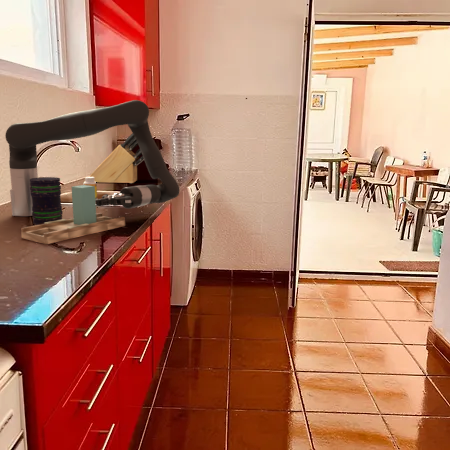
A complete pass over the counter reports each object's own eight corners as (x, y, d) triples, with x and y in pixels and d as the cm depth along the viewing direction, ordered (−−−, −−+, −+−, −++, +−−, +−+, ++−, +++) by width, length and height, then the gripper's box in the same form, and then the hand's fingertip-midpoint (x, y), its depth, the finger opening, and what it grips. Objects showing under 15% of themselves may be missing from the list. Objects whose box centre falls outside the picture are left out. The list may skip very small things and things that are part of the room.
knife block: (149, 183, 262) (148, 128, 255) (87, 183, 262) (84, 127, 255) (153, 181, 273) (151, 127, 266) (93, 180, 273) (90, 127, 266)
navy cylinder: (32, 220, 162) (28, 177, 159) (61, 218, 166) (59, 176, 163) (33, 225, 153) (29, 181, 150) (64, 223, 157) (61, 179, 154)
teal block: (86, 221, 152) (84, 184, 149) (96, 223, 149) (94, 186, 146) (73, 223, 148) (71, 186, 145) (83, 225, 145) (81, 187, 142)
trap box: (100, 221, 161) (100, 212, 161) (125, 225, 155) (124, 216, 154) (21, 238, 137) (20, 227, 137) (46, 244, 131) (45, 232, 130)
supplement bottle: (98, 200, 204) (97, 177, 201) (85, 201, 201) (84, 178, 199) (96, 198, 208) (94, 176, 206) (83, 199, 206) (82, 176, 204)
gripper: (122, 184, 168) (83, 189, 154) (148, 187, 161) (110, 193, 147) (123, 204, 170) (84, 211, 156) (149, 208, 163) (111, 216, 149)
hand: (97, 202), depth 151 cm, fingers closed
